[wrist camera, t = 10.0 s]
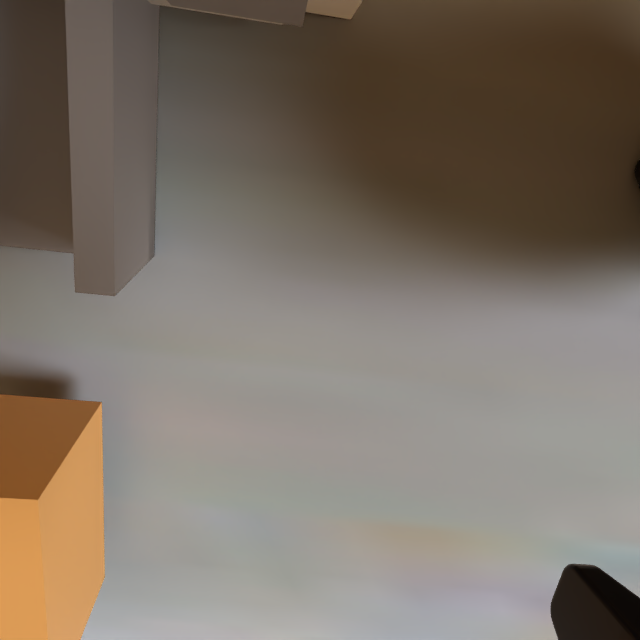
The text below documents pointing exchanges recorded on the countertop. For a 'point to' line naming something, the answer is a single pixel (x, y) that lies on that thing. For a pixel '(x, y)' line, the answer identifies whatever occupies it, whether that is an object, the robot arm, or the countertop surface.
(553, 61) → the countertop surface
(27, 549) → the plug
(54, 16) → the socket box
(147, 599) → the countertop surface
